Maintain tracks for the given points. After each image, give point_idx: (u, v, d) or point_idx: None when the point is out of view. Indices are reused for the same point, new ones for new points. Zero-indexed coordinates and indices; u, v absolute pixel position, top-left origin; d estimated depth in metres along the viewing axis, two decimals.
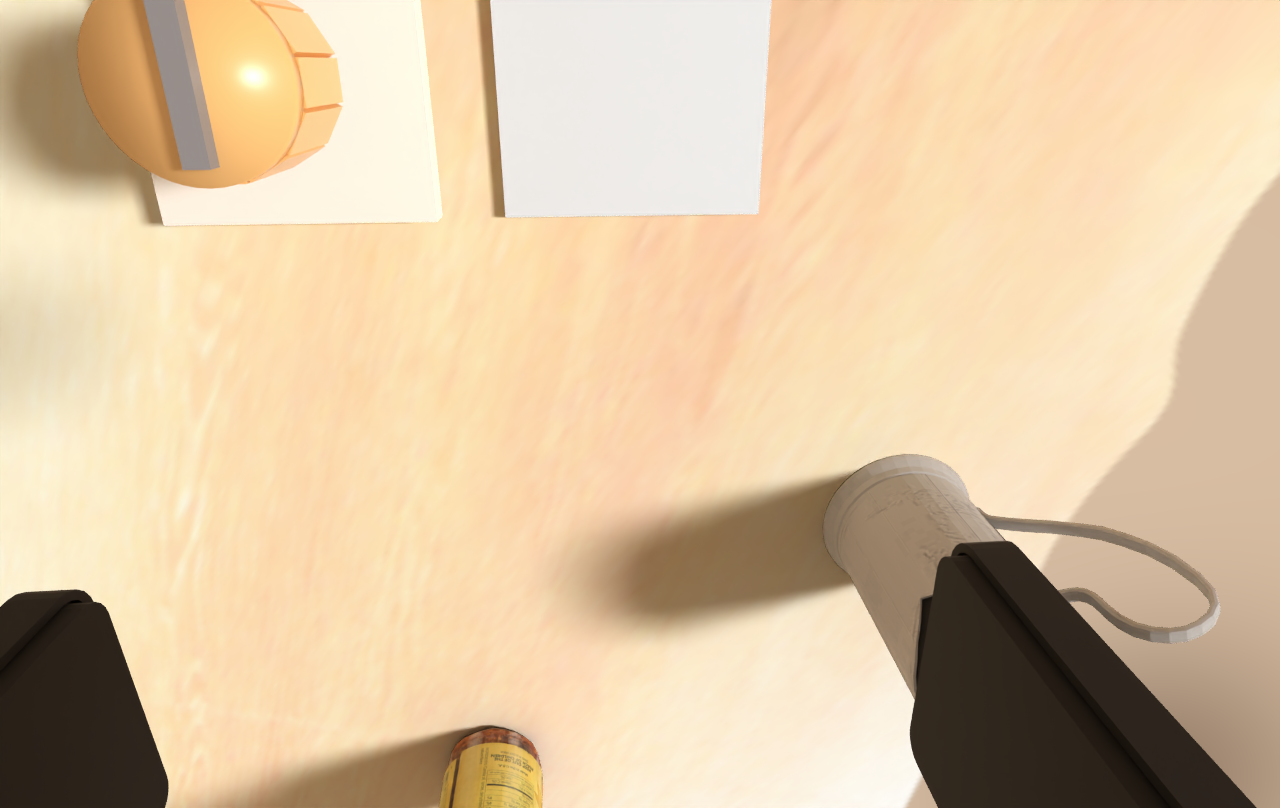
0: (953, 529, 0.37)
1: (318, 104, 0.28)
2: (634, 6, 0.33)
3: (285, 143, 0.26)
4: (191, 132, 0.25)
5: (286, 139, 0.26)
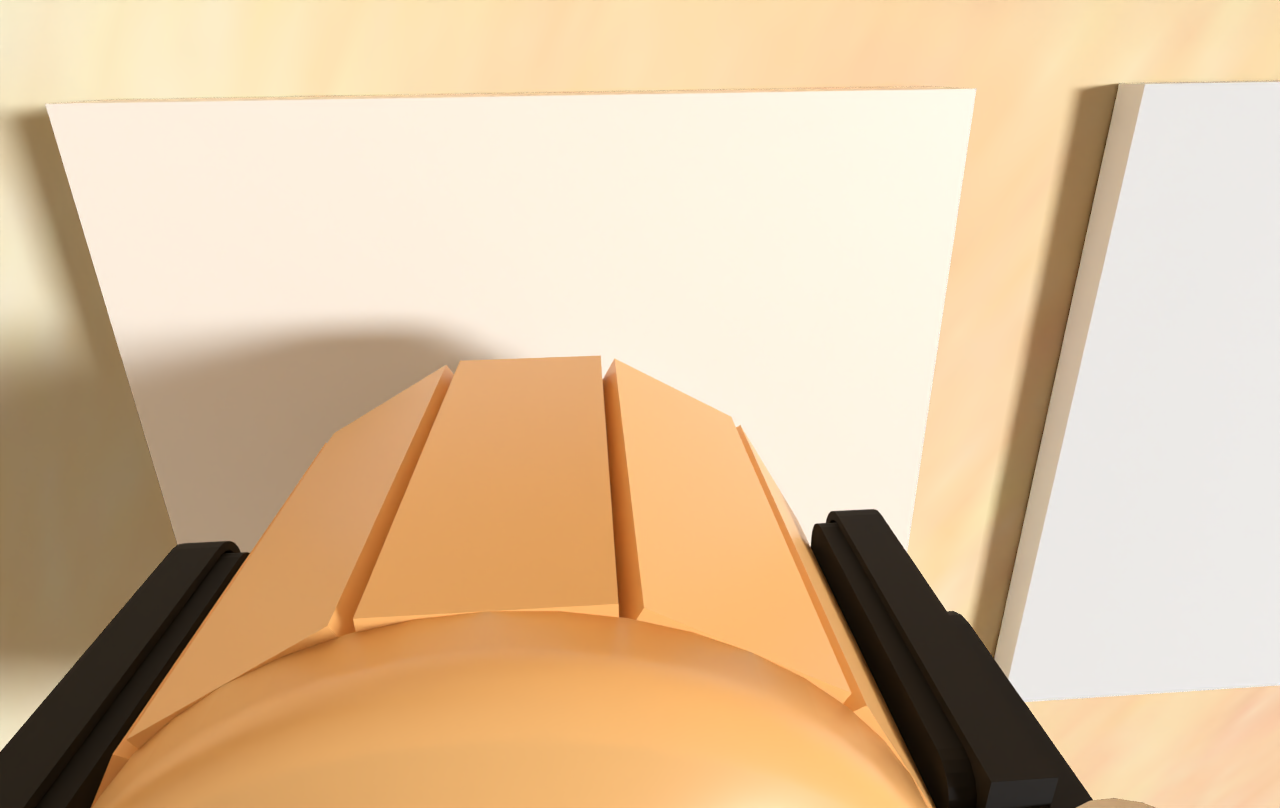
0: None
1: None
2: None
3: None
4: None
5: None
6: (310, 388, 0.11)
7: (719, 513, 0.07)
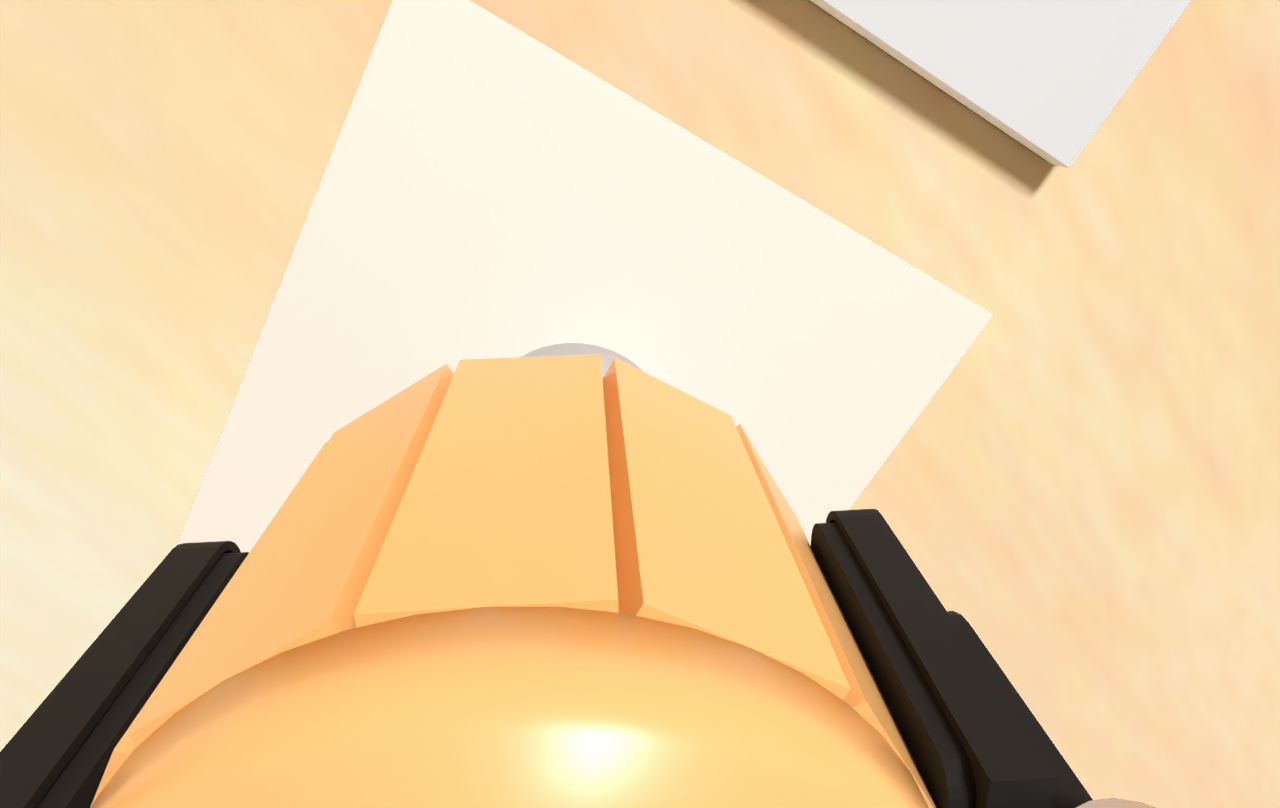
0: None
1: None
2: None
3: None
4: None
5: None
6: None
7: (719, 511, 0.07)
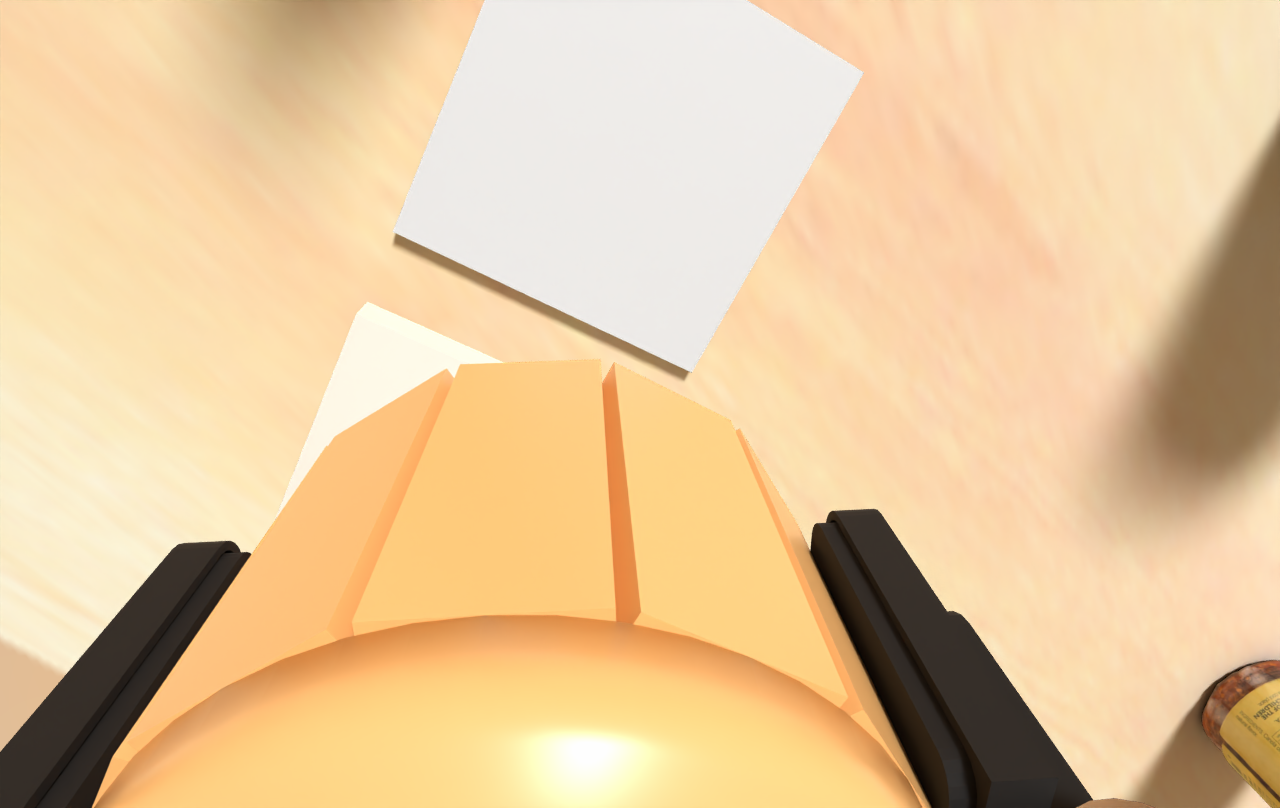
0: None
1: None
2: (549, 110, 0.26)
3: None
4: None
5: None
6: None
7: (717, 517, 0.07)
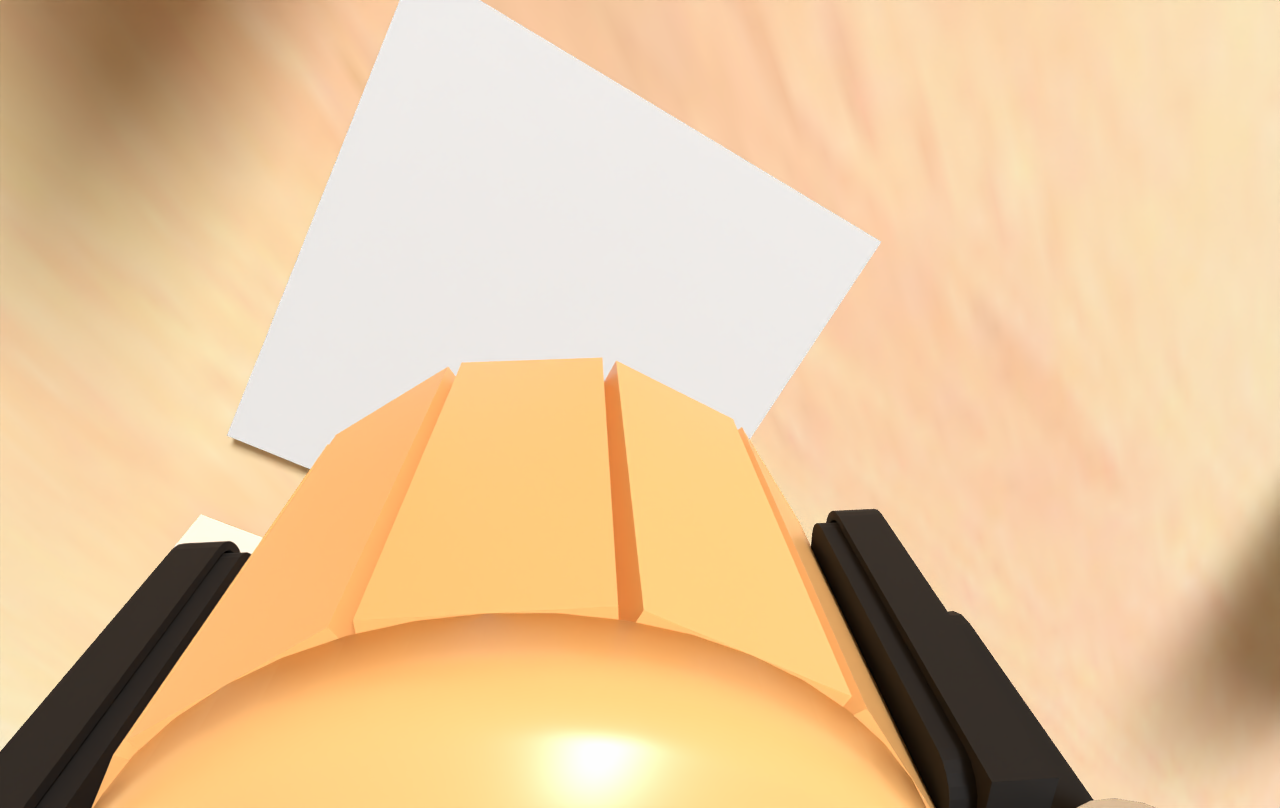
0: None
1: None
2: (443, 284, 0.18)
3: None
4: None
5: None
6: None
7: (719, 516, 0.07)
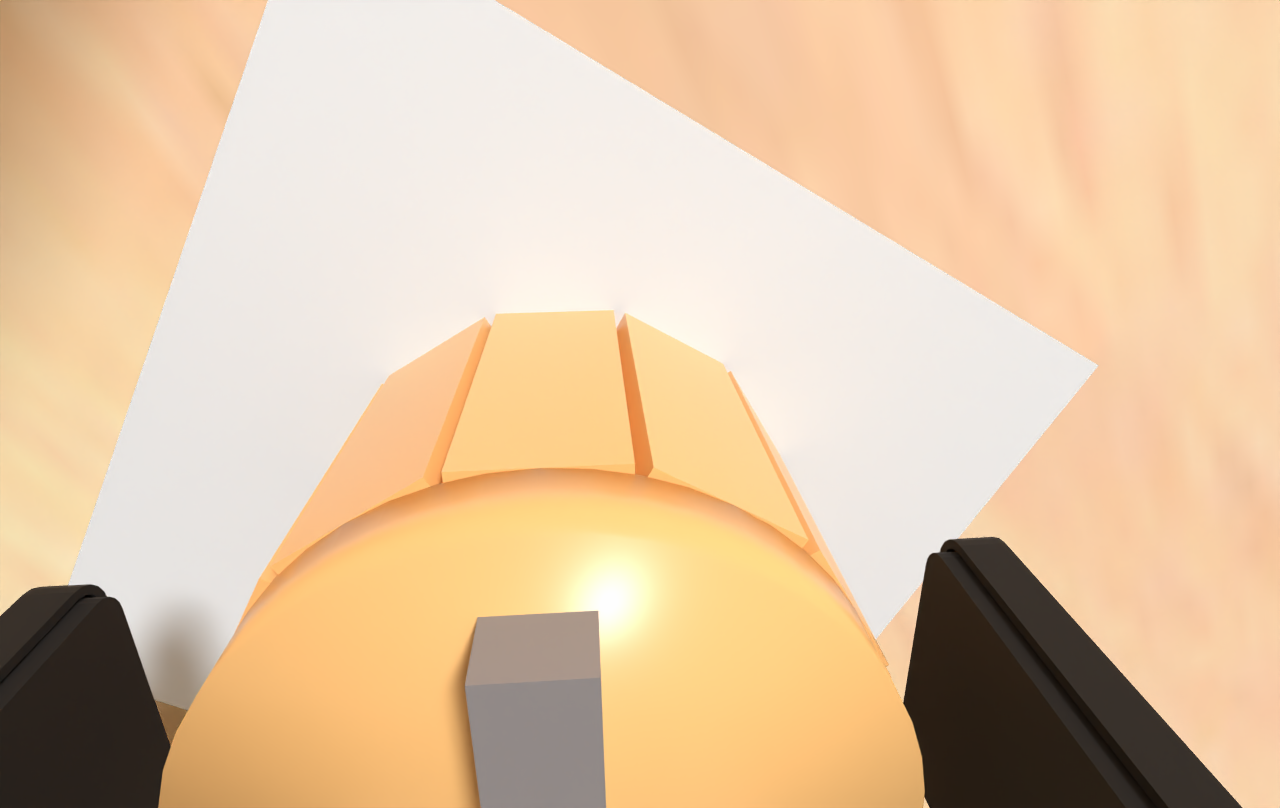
0: None
1: None
2: None
3: None
4: None
5: None
6: None
7: (711, 423, 0.08)
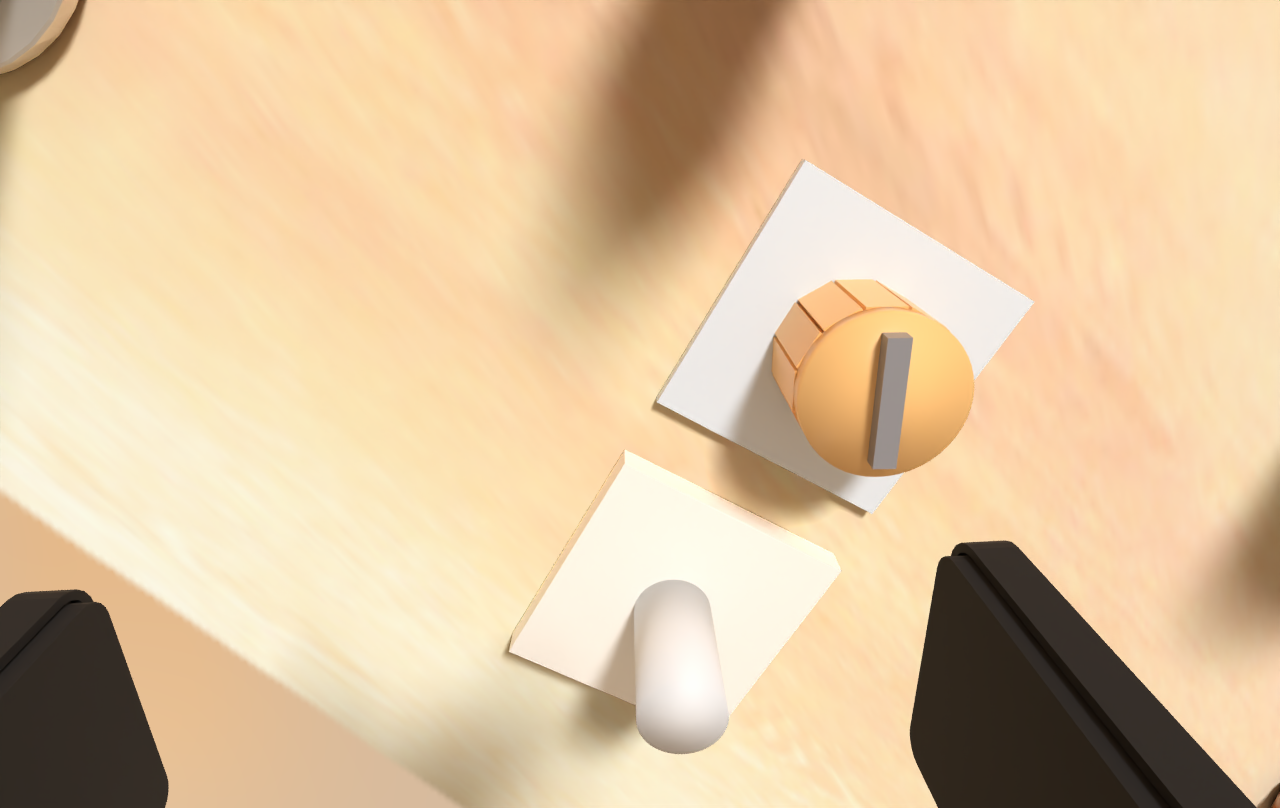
0: None
1: None
2: None
3: (950, 441, 0.30)
4: (890, 441, 0.29)
5: (952, 439, 0.30)
6: (602, 646, 0.39)
7: (915, 306, 0.31)
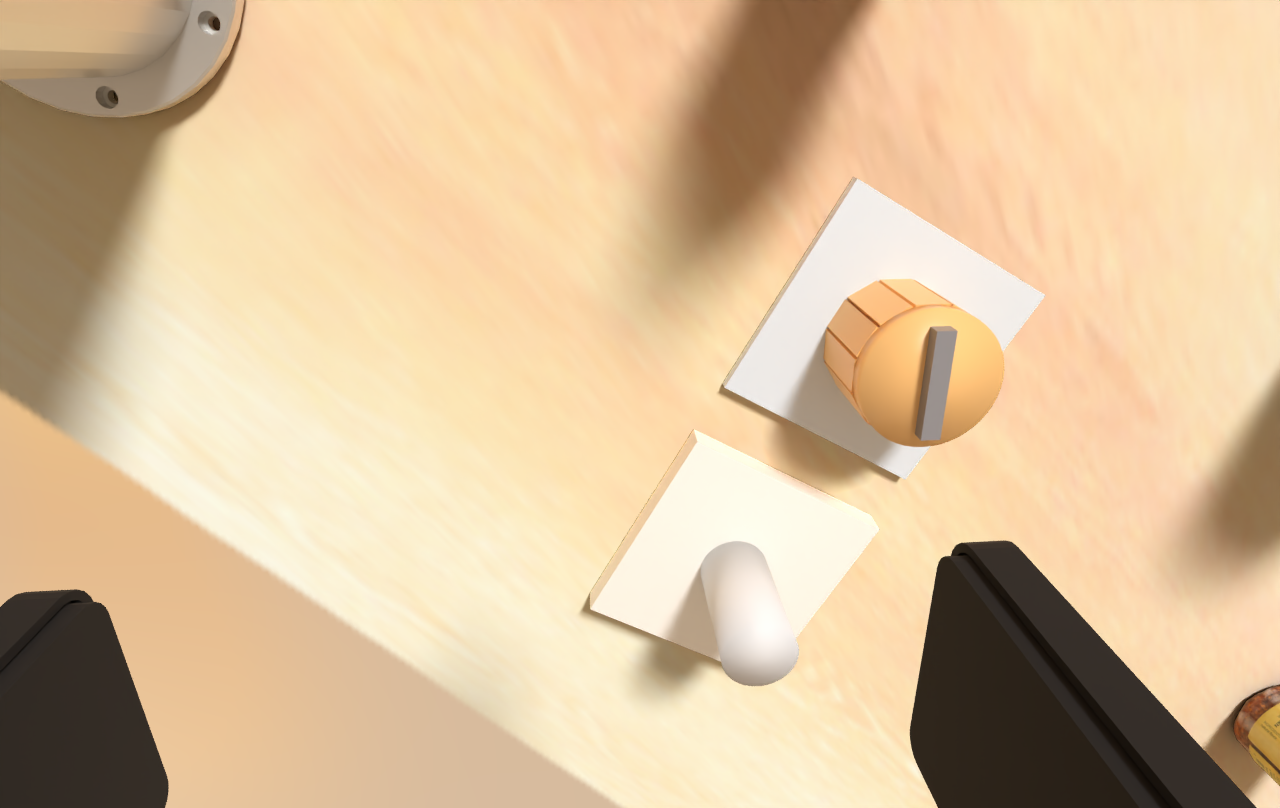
0: None
1: None
2: None
3: (982, 415, 0.36)
4: (936, 416, 0.35)
5: (985, 413, 0.36)
6: (671, 601, 0.44)
7: None
